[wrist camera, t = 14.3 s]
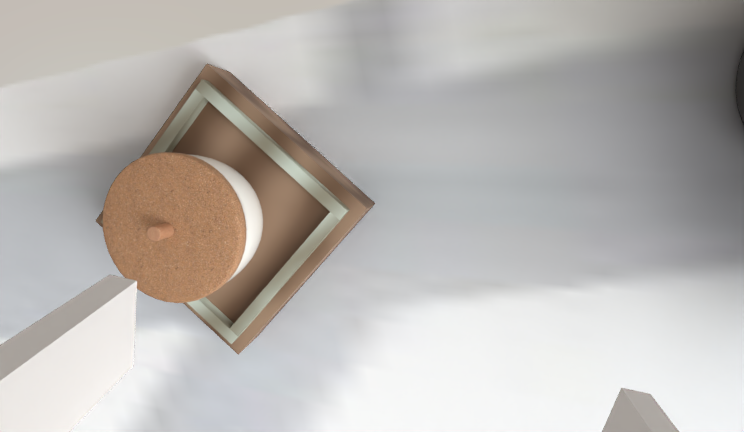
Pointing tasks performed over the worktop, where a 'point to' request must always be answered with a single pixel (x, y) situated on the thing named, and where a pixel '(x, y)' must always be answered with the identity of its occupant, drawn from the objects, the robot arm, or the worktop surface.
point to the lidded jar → (181, 225)
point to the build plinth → (262, 199)
